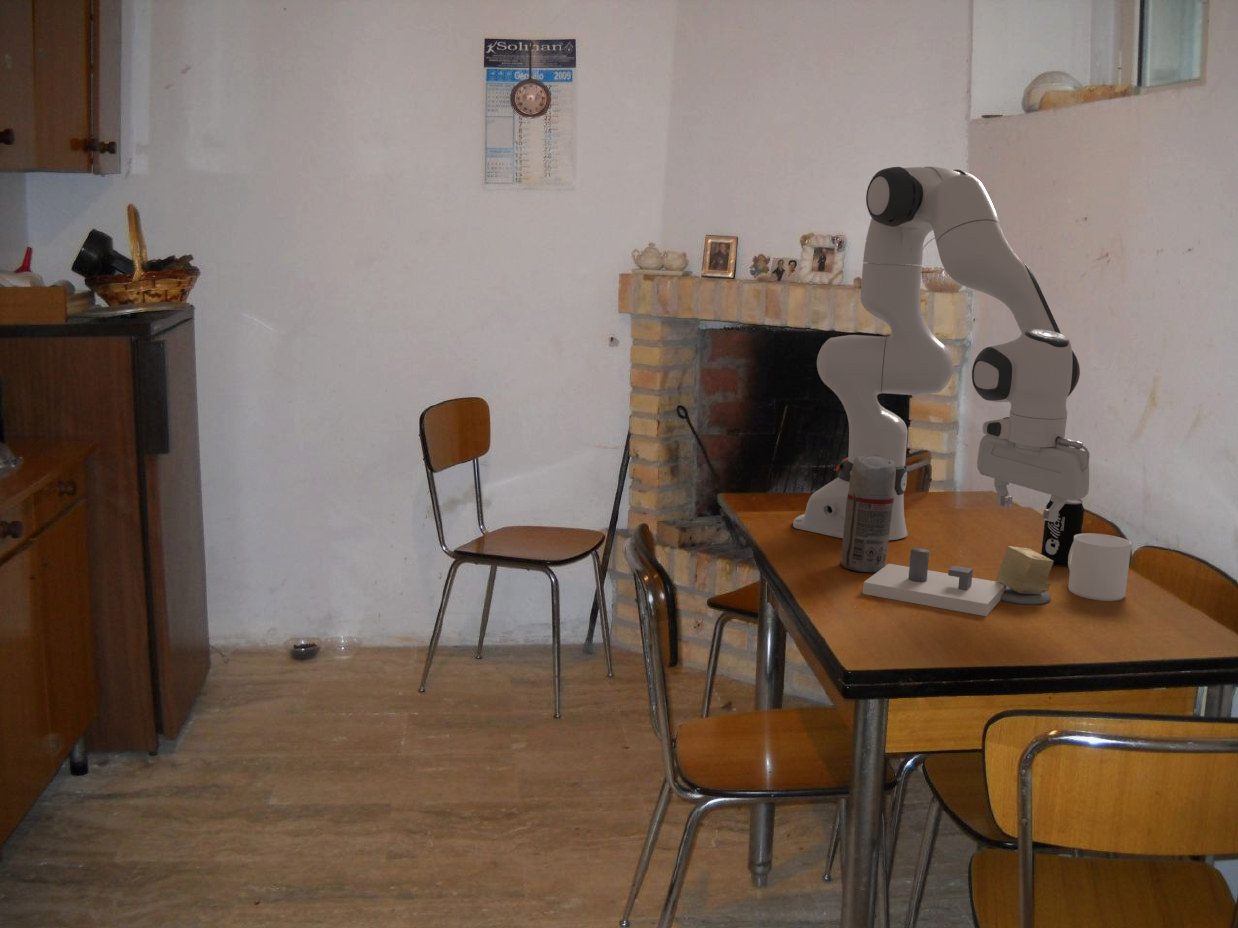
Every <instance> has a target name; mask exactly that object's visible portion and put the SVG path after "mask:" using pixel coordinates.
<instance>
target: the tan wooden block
mask: <svg viewBox="0 0 1238 928" xmlns="http://www.w3.org/2000/svg"><path fill="white" fill-rule="evenodd" d="M1053 562H1054V561H1053V560H1051V559H1049V558H1047V557H1045V556H1043V555H1041V553H1039V552H1037V551H1035V550H1033V549H1031V548H1029V547H1019V546H1011V545H1007V547H1006V550H1005V553H1004V556H1003V558H1002V561H1001V563H1000V566H999V569H998V572H997V575H996V577H995V581H996V582H1001V583H1002V584H1004V585H1006V586H1008V587H1010V588H1011V589H1013V590H1015V591H1017V592H1019V593H1024V594H1037V595H1041V594H1042V591H1043V590H1044V591H1049V590H1050V589H1051V588H1050V587H1051V585H1052V584H1051V583H1050V582H1049V581H1047V580H1048V577H1049V575H1050V573H1051V569H1052V567H1053V566H1054V565H1053Z"/></svg>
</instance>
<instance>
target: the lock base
mask: <svg viewBox="0 0 1238 928" xmlns="http://www.w3.org/2000/svg"><path fill="white" fill-rule="evenodd" d="M929 560H930V550H928V549H926V548H916V547H915V548H911V549H910V556H909V566H907V565H899V564H893V563H888V564H885V567H884V568H882V569H881V570H879V571H878V572H874V574H873V575H871V576H870V577H869V578H867V579H866V580H865V581H863V588H862V595H866V596H873V597H879V598H884V599H890V600H894V601H901V602H905V603H911V604H916V605H923V606H927V607H933V608H939V609H945V610H949V611H955V612H960V613H965V614H971V615H977V616H982V617H988V615H989V614H990V613H991V612H992V611H993V609H994V608H995V607H996V606H997V605H998V603H1000V601H1002V600H1001V596H1002V595H1003V594H1004V592H1005V591H1006V585H1004V584H1002V583H1001V582H999V581H997V580H994V581H993V580H988V579H983V578H977V577H973V572H974V569H973V568H969V567H964V566H957V565H952V566H951V567H950V568H949V569H948V573H947V572H941V571H935V570H929Z"/></svg>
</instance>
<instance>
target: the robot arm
mask: <svg viewBox="0 0 1238 928" xmlns="http://www.w3.org/2000/svg"><path fill="white" fill-rule="evenodd" d="M865 194H866V195H865V201H866V202H865V204H866V208H867V211H868V215H870V217H871V220H870V223H869V226H868V231H867V234H866V239H865V244H864V251H863V261H862V262H863V263H862V271H861V272H862V273H861V274H862V275H861V286H860V296H859V297H860V303H861V305H862V307H863V308H864V309H865V311H867V312H868V313H870V314H871V315H872V316H874V317H876V318H878V319H880V320H881V321H884V322H885V323H887V325H888V327H889V328H890V331H891V334H890V335H886V336H880V335H879V336H878V335H877V336H876V335H863V334H862V335H861V334H860V335H859V334H847V335H841V336H835V337H829V338H828V339H827V340H826V341H825V342H824V343H823V344H822V345H821V348H820V349H819V352H818V354H817V357H816V358H817V359H816V368H817V369H816V370H817V372H818V375H819V377H820V380H821V381H822V382H823V384H824V385H826V386H827V387H828V388H829V389H830V390H831V391H832V392H833V393H834V394H835V395H836V396H837V398H838V399H839V401H840V402H841V404H842V406H843V409H844V411H845V413H846V415H847V421H848V432H849V433H848V457H846V458H844V459H843V460H841V462H839V463H838V465H836V466H835V467H836V468H835V471H836V472H837V476H838V477H836V478H834V479H833V480H832V481H830V482H829V483H827V484H825V485H824V486H822V487H820V488H819V489H818V490H816V491H815V492H813V494H811V495H810V497H809V499H808V501H807V503H806V508H805V512H804V513H802V514H800V515H798V516H797V517H795V518H794V519H793V521H792V522H793V523H792V526H793V528H795V529H798V530H802V531H807V532H810V533H811V532H812V533H817V534H819V535H820V534H821V535H825V536H830V537H835V538H839V539H843V532H844V523H845V511H846V501H847V496H848V492H849V484H850V476H851V471H852V467H853V463H854V460H855V457H858V456H859V457H861V456H869V455H874V454H875V455H879V456H882V457H884V458H885V459H886V460H892V461H894V462H895V464H896V475H895V487H894V502H893V509H892V520H891V525H890V533H889V541H894V540H901V539H904V538H906V537H907V536H908V530H907V526H906V519H905V510H904V509H905V507H904V506H905V503H904V494H905V491H906V487H907V480H908V472H907V471H908V470H907V469H908V465H907V464H906V457H907V445H908V444H907V442H908V433H909V431H908V427H907V425H906V423H905V421H904V420H903V419H902V417H900V416H899V415H897V414H896V413H894V412H892V411H891V410H889V409H886V408H885V407H884V406H882V405H881V404H880V402H879V400H878V395H880V394H890V395H891V394H892V395H903V396H904V395H905V396H906V395H907V396H923V395H924V396H925V395H931V394H938V393H940V392H942V391H943V390H944V389H945V388H946V387H947V385H949V383H950V381H951V379H952V376H953V372H954V361H953V357H952V354H951V352H950V350H949V348H948V347H947V346H946V345H945V344H944V343H943V342H941V341H940V340H939V339H938V338H937V337H936V336H935V335H934V334H933V332H932V330H930V327H929V326H928V325H927V321H926V320H925V317H924V314H923V311H922V304H921V301H922V300H921V283H922V281H921V280H922V268H923V267H922V265H923V251H924V250H923V249H924V242H925V239H926V237H927V236H928V234H929V233H930V232H932V231H933V234H934V239H935V245H936V248H937V251H938V255H939V258H940V263H941V264H942V267H943V268H944V271H945V272H946V274H947V275H948V276H949V277H950V278H951V279H952V280H953V281H955V282H956V283H958V284H959V285H961V286H963V287H966V288H969V289H973V290H974V291H979V292H981V293H984V294H985V295H989V296H991V297H992V298H994V299H996V300H998V301H999V302H1001V303H1003V304H1004V305H1005V306H1006V307H1007V308H1008V309H1009V310H1010V311H1011V313H1012V316H1013V317H1014V320H1015V322H1016V323H1017V324H1016V325H1017V326H1018V328H1019V330H1020V333H1021V334H1020V336H1019V337H1018V338H1016V339H1013V340H1011V341H1008V342H1006V343H1005V342H1004V343H1002V344H996V345H992V346H986V347H985V348H983V349H981V351H980V352H979V353H978V354H977V356H976V357H975V359H974V362H973V364H972V368H971V369H972V370H971V380H972V386H973V388H974V390H975V391H976V393H977V394H978V395H979V396H980V397H981V398H982V399H984V400H985V401H989V402H992V403H993V402H994V403H1009V404H1010V410H1009V416H1008V417H1007V416H1006V417H1003V418H1000V419H994V420H988V421H985V422H983V424H982V433H983V434H984V435H983V437H982V438H981V439H980V442H979V445H978V446H979V447H978V453H977V461H976V465H977V466H976V468H977V470H978V472H979V474H980V475H982V476H985V477H988V478H992V479H994V483H993V484H994V486H993V487H995V491H996V494H997V496H998V499H997V500H998V501H997V505H998V506H1000V507H1002V508H1011V506H1012V504H1013V497H1014V496H1012V495H1010V494H1009V490H1008V486H1009V485H1010V484H1012V485H1016V486H1020V487H1023V488H1026V489H1030V490H1033V491H1037V492H1041V493H1044V494H1047V495H1050V497H1051V501H1052V502H1054V503H1053V504H1052V506H1051V507H1050V509H1046V508H1045V509H1043V510H1044V511H1043V520H1044V521H1045V520H1047V521H1050V522H1055V521H1057V520H1058V513H1059V511H1060V509H1061V508H1062V507H1063V505H1064V504H1065V503H1066V500H1078V499H1081V500H1083V499H1084V498H1086V496H1087V495H1088V494H1089V490H1090V489H1089V488H1090V466H1089V465H1090V457H1091V455H1090V454H1091V453H1090V451H1089V450H1088V448H1087V447H1086V445H1085V446H1084V443H1083V442H1080V441H1079V440H1072V439H1068V438H1066V437H1065V435H1066V429H1067V428H1066V427H1067V419H1068V411H1067V399H1068V397H1069V396H1070V395H1071V394H1072V393H1073V391H1074V390H1075V389H1076V387H1077V385H1078V382H1079V379H1080V375H1081V366H1080V363H1079V360H1078V358H1077V355H1076V354H1075V352H1074V350H1073V348H1072V343H1071V341H1070V339H1069V338H1068V337H1066V336H1065V335H1063V334H1062V333H1061V330H1060V328H1059V326H1058V324H1057V322H1056V320H1055V318H1054V315H1053V314H1052V311H1051V308H1050V306H1049V305H1048V303H1047V300H1046V298H1045V296H1044V293H1043V291H1042V289H1041V287H1040V285H1039V282H1038V281H1037V279H1036V276H1035V275H1034V273H1033V272H1032V270H1031V269H1030V267H1029V266H1028V265H1027V263H1025V262H1024V261H1023V260H1021V259H1020V257H1018V255H1017V254H1016V252H1015V251H1014V249H1012V247H1011V245H1010V244H1009V243H1008V241H1007V239H1006V237H1005V235H1004V232H1003V229H1002V226H1001V222H1000V219H999V217H998V214H997V211H996V209H995V207H994V204H993V202H992V200H991V197H990V196H989V193H988V192H987V190H986V188H985V186H984V184H983V183H982V181H980V180H979V179H978V178H977V176H975V175H973V174H972V173H969V172H967V171H964V170H961V169H948V168H943V167H936V166H922V167H921V166H918V167H917V166H915V167H913V166H912V167H911V166H910V167H901V166H892V167H887V168H883V169H880V170H879V171H877V172H876V173H875V174H874V175H873V176H872V178H871V180H870V182H869V183H868V186H867V190H866V193H865Z"/></svg>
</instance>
